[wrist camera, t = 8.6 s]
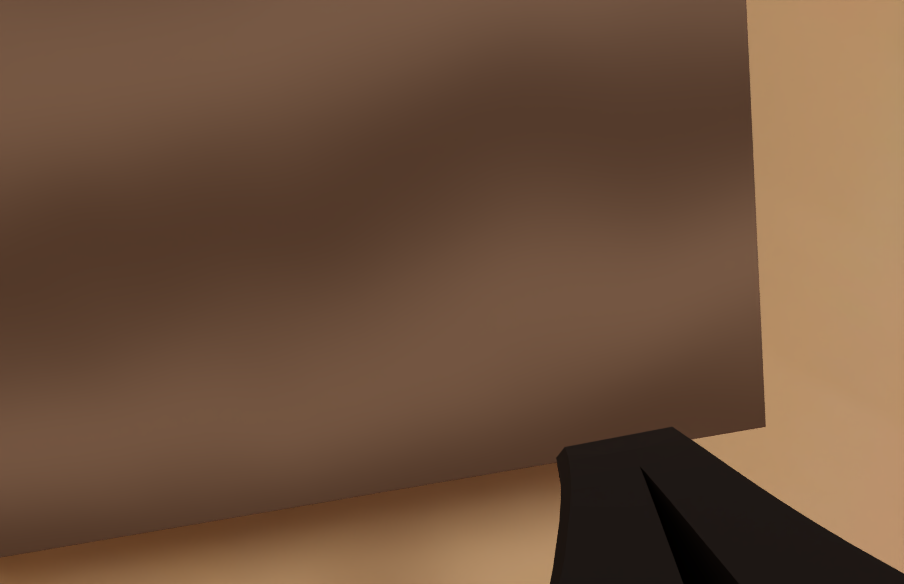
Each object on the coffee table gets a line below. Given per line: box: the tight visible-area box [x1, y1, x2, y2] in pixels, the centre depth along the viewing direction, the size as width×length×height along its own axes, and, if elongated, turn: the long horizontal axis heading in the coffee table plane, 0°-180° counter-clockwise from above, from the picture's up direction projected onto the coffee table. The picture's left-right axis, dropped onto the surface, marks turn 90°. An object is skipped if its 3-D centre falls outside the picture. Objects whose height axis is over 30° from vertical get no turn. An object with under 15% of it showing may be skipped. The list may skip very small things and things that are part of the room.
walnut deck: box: [0, 0, 766, 557], centre depth 16 cm, size 12×18×4 cm, turn 100°
